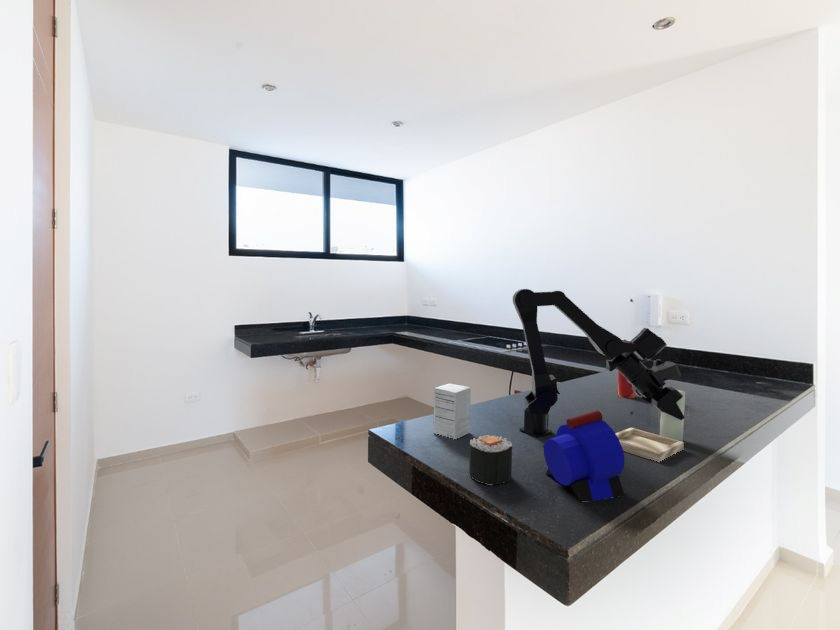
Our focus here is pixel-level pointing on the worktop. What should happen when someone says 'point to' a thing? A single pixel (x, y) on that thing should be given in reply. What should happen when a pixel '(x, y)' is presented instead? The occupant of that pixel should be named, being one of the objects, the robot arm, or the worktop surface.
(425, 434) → the worktop surface
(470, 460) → the sushi
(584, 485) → the alarm clock
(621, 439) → the birch tray
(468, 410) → the supplement box
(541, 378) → the robot arm
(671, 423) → the sage post
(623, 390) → the paper cup
